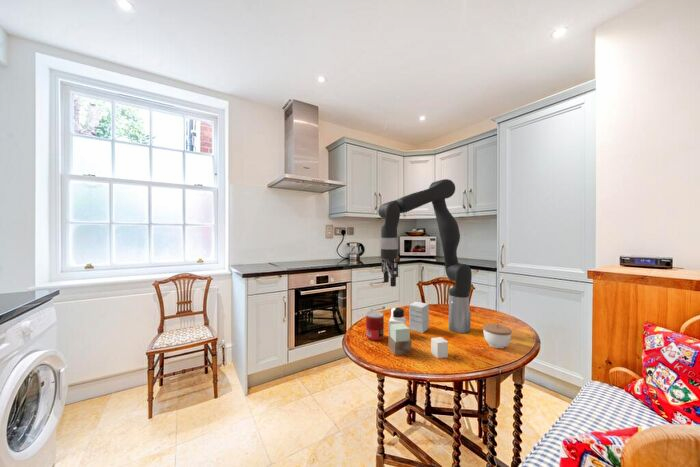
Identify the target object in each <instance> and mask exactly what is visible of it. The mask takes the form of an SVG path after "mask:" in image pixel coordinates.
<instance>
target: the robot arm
mask: <svg viewBox="0 0 700 467" xmlns="http://www.w3.org/2000/svg"><path fill="white" fill-rule="evenodd" d="M455 191H456V185H455V183H454V182H453V181H452V180H451V179H448V178H447V179H446V178H445V179H440V180H436V181H433V182H431V183H430V185H429V187H428V188H427V189H424V190H420V191H415V192H413V193H409V194H406V195H405V196H403V197H400V198H397V199H395V200H390V201H388V202H384V203H382V204H380V206H379V207H378V210H377V212H378V216H379V217H380V218H381V219H383V220H384V219H385V220H384V224H383V225H382V226H381V230H380V231H381V232H380V235H381V236H380V259H381V273H382V274H383V283H385V284H386V283H389V282H390V287H396V286H397V279H396V278H398V277H399V264H398V262H395V261H396V260H397V259H398V258H399V242H398V225H399V222H400V218H401V214H405V213H407V212H410V211H413V210H416V209H418V208H419V207H422V206H424V205H425V206H426V205H427V204H429V203H431V204H432V207H433V210H434V214H435V218H436V222H437V227H438V233H439V237H440V242H441V246H442V247H441V248H442V252H443V258H444V267H445V268H444V269H445V275H446V276H447V278H448V279H449V280H451V281H454V282H455V284H454V285H455V286H454V287H450V288H449V290H448V329H449V330H450V331H451V332H455V333H459V334H466V333H469V332H471V324H472V323H471V318H472V316H471V315H472V314H471V313H472V312H471V311H470V292H471V289H472V278H473V276H472V275H473V273H472V268H471V267H470V266H469V264H466V263H460V262H459V259H458V254H457V250H458V247H459V243H460V241H461V233H460V229H459V224H458V222H457V220H456V218H455V217H454V216H453V215H452V213H451V212H450V211H449V208H448V206H447V204H446V202H447V201H446V199H449V198H451V197H452V196H453V195H454V194H455V193H456V192H455ZM389 278H390V279H389Z"/></svg>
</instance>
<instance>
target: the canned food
mask: <svg viewBox="0 0 700 467" xmlns="http://www.w3.org/2000/svg"><path fill="white" fill-rule="evenodd" d="M365 316H366V317H365V321H366V322H365V324H366V328H365V330H366V331H365V336H366V338H367V340H369V341H373V342H378V341H381V340H383V339H384V327H385V325H384V324H385V322H384V321H385V319H384V317H385V316H384V313H383V312H380V311H368V312H366V315H365Z"/></svg>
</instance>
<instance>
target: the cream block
mask: <svg viewBox="0 0 700 467" xmlns="http://www.w3.org/2000/svg"><path fill="white" fill-rule="evenodd" d="M430 344H431V345H430V354H432V355H433V356H434V357H435V358H436V359H443V358H448V357H449V341H447V340H446V339H445V338H444V337H442V336H439V337H431V338H430Z"/></svg>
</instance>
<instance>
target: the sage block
mask: <svg viewBox="0 0 700 467" xmlns="http://www.w3.org/2000/svg"><path fill="white" fill-rule="evenodd" d="M410 335H411V329H410V328H409V326H407V324H406V325H405V324H404V323H400V324H390V335H389V336H390V337H391V338H392V339H393V340H394V341H395V342H403V341H411V339H410V337H411V336H410Z"/></svg>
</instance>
